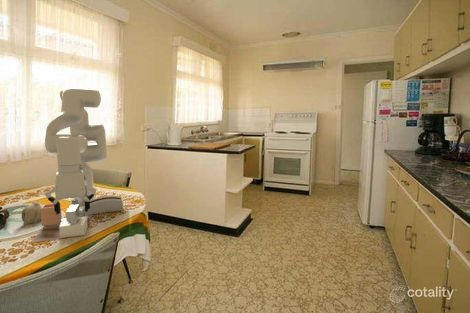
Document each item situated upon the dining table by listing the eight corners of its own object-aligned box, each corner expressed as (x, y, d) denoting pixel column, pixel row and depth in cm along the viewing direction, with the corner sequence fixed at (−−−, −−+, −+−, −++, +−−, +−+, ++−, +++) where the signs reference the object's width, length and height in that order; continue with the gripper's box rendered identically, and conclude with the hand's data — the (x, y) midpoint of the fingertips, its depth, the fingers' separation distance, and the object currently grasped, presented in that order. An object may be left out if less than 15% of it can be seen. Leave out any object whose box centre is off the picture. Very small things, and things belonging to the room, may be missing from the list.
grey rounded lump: (32, 225, 120) (32, 203, 122) (50, 223, 120) (50, 200, 121) (13, 227, 111) (14, 203, 113) (33, 225, 110) (33, 200, 112)
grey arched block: (122, 208, 137) (122, 192, 133) (123, 214, 134) (124, 197, 130) (84, 214, 128) (84, 197, 124) (85, 220, 125) (85, 203, 121)
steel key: (72, 228, 109) (70, 204, 108) (80, 227, 110) (79, 204, 109) (67, 236, 102) (65, 211, 100) (76, 235, 103) (75, 211, 101)
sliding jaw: (46, 220, 114) (44, 203, 112) (61, 218, 115) (60, 202, 114) (41, 226, 108) (40, 208, 107) (58, 224, 110) (56, 207, 109)
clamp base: (49, 222, 115) (47, 199, 113) (88, 218, 120) (87, 196, 118) (43, 229, 107) (41, 205, 106) (85, 225, 113) (84, 202, 111)
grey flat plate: (47, 224, 116) (47, 221, 115) (91, 220, 122) (91, 217, 121) (30, 246, 97) (30, 242, 97) (84, 239, 103) (83, 236, 103)
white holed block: (65, 229, 108) (64, 218, 108) (87, 226, 111) (86, 216, 110) (60, 237, 101) (59, 226, 100) (84, 235, 104) (83, 224, 103)
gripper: (96, 166, 108) (98, 206, 111) (46, 168, 102) (49, 211, 105) (94, 169, 101) (96, 212, 104) (39, 171, 95) (43, 217, 98)
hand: (72, 212), depth 104 cm, fingers open, 9 cm apart
